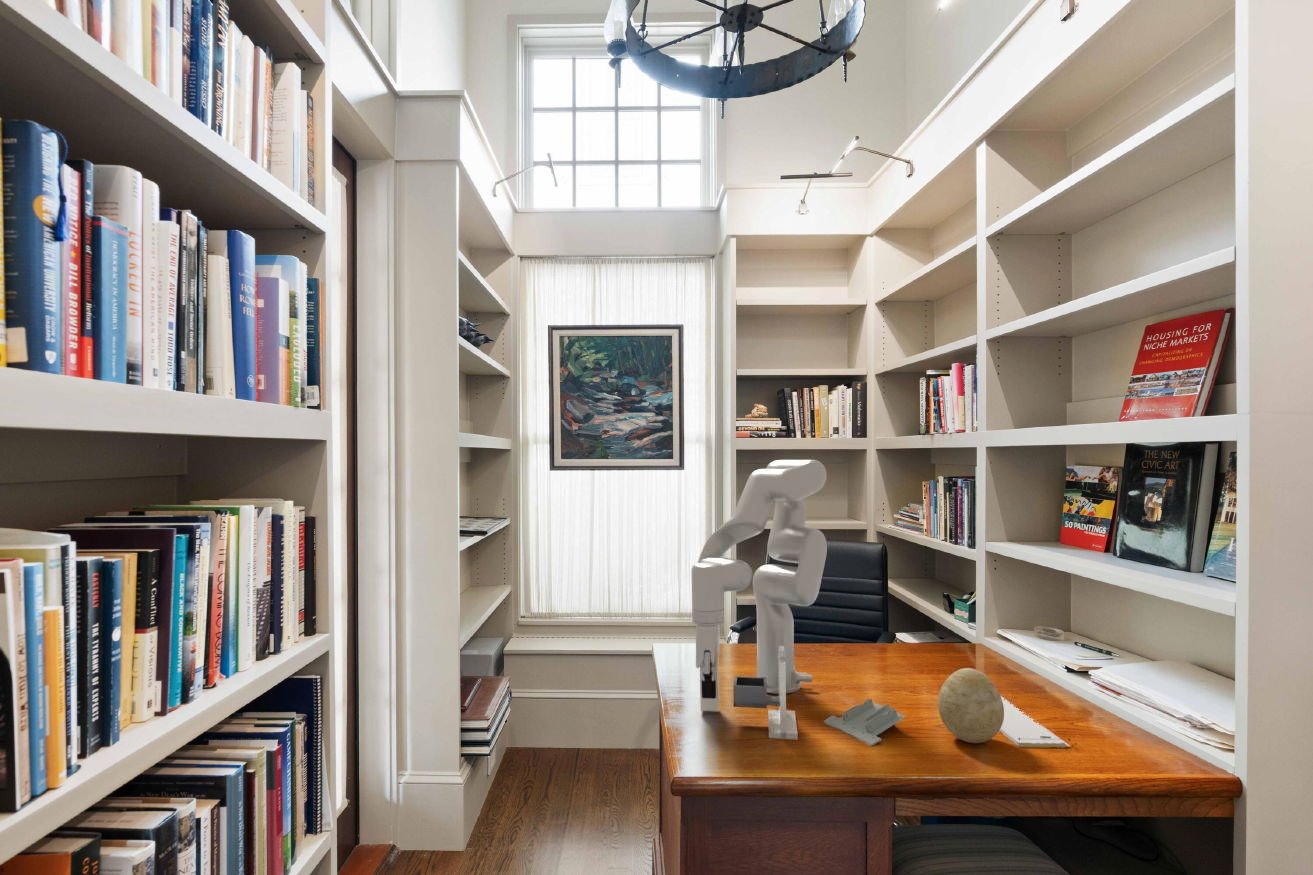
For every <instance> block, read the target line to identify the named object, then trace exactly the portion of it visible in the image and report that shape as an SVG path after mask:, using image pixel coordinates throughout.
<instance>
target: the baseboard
mask: <svg viewBox="0 0 1313 875" xmlns="http://www.w3.org/2000/svg"><path fill="white" fill-rule="evenodd" d="M1000 696H1001V695H1000ZM1001 699H1002V702H1003V706H1004V720H1003V724H1002V726H1001V728H1000V730H999V732H1000V731H1001V732H1002V733H1001V732H1000V733H1001V734H1003V735H1004V736H1005V737H1006V738H1008V739H1009V741H1011V742H1012V743H1013V742H1014V744H1015V745H1016V746H1017V747H1018V748H1050V747H1057V748H1060V747H1061V748H1062V749H1066V748H1065V747H1070V749H1074V746H1071V745H1070V744H1068V743H1067V742H1065V741H1064V739H1062V738H1060V737H1059V736H1057V735H1056V734H1054V733H1053V732H1052V731H1051V730H1049V729H1048V728H1046V727H1045V726H1044V725H1042V724H1040V723H1039V722H1038V721H1036V722H1037V723H1036V722H1034V721H1033V720H1035V719H1034V718H1032V717H1031V718H1029V717H1030V716H1029V715H1028V714H1027V715H1028V716H1027V715H1025V714H1026V713H1025V712H1024V711H1022V710H1021V709H1019V708H1018V707H1017V706H1015V705H1014V704H1012V703H1011V702H1010V701H1008V699H1006V698H1004V697H1003V696H1001ZM1004 699H1005V700H1004ZM1010 703H1011V704H1010ZM1014 706H1015V707H1014ZM1016 707H1017V708H1016ZM1019 710H1021V711H1022V712H1021V711H1019ZM1023 713H1025V714H1023ZM1039 724H1040V725H1039ZM1070 740H1071V738H1070V737H1068V741H1070ZM1074 745H1075V748H1077V743H1076V742H1074Z"/></svg>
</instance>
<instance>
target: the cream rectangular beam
mask: <svg viewBox="0 0 1313 875" xmlns="http://www.w3.org/2000/svg"><path fill="white" fill-rule="evenodd" d="M710 667H712V665H710ZM710 672H712V670H710ZM714 680H716V698H714V699H713V698H702V665H701V667H699V684H700V685H699V690H700V691H699V693H700V694H699V695H700V697H699V698H700V711H701V712H718V711H719V709H720V708H719V706H720V694H719V692H720V690H719V689H720V688H719V687H720V686H719V685H720V684H719V682H720V679H719V662H718V663H717V667H716V668H715V669H714Z"/></svg>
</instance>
